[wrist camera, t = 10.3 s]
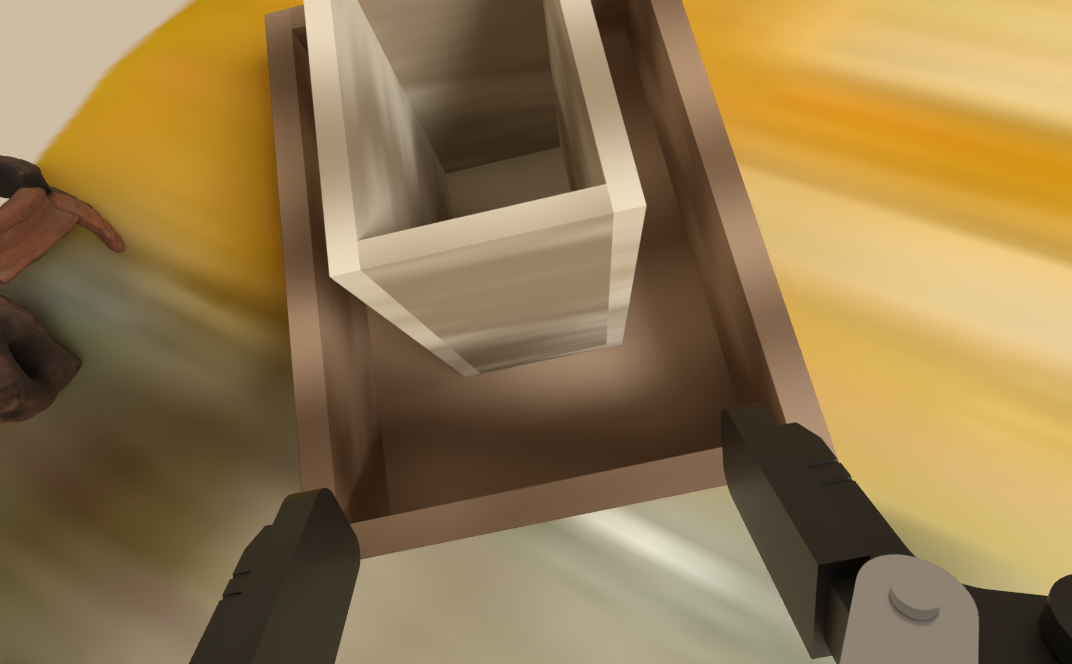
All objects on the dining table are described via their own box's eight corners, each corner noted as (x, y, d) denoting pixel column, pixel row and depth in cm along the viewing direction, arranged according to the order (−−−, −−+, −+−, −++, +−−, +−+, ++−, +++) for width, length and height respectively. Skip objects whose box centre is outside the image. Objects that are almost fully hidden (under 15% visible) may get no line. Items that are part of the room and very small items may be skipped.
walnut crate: (326, 100, 26) (264, 15, 21) (641, 21, 25) (651, -87, 20) (376, 547, 20) (308, 569, 16) (779, 465, 20) (838, 462, 15)
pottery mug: (-87, 349, 26) (-267, 193, 20) (133, 264, 30) (42, 118, 24) (-41, 533, 20) (-277, 391, 14) (224, 393, 24) (133, 242, 19)
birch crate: (433, 172, 23) (296, -81, 13) (572, 139, 23) (549, -149, 12) (466, 377, 21) (329, 276, 10) (621, 344, 21) (646, 205, 10)
